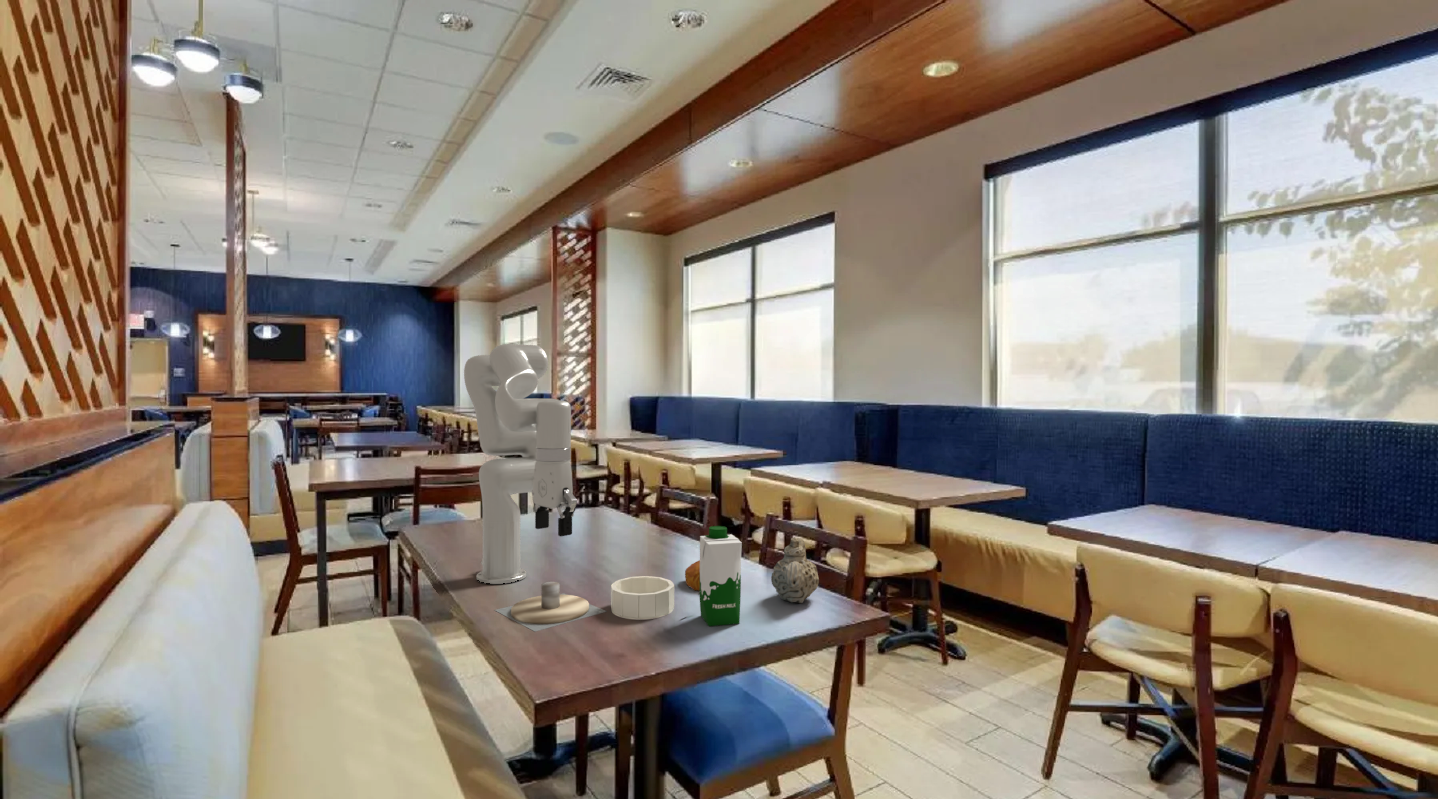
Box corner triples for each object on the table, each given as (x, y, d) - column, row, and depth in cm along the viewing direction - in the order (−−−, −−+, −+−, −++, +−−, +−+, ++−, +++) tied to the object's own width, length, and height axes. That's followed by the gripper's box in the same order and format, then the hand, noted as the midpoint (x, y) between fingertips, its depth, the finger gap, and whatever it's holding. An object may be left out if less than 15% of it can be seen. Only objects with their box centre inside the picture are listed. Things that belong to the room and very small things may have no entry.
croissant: (741, 585, 183) (742, 555, 184) (737, 595, 168) (738, 562, 169) (688, 582, 185) (689, 552, 185) (679, 591, 169) (681, 559, 170)
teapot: (816, 615, 154) (817, 549, 154) (765, 611, 156) (766, 546, 156) (821, 587, 175) (822, 529, 174) (776, 584, 177) (777, 526, 177)
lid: (497, 610, 154) (497, 583, 153) (563, 594, 166) (563, 569, 165) (535, 630, 142) (535, 601, 141) (603, 611, 153) (603, 584, 153)
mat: (494, 612, 154) (494, 610, 154) (563, 595, 166) (563, 593, 166) (534, 634, 141) (535, 631, 141) (606, 613, 153) (606, 611, 153)
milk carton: (733, 611, 156) (733, 524, 155) (744, 625, 147) (745, 533, 147) (695, 614, 154) (696, 526, 153) (705, 628, 145) (706, 535, 144)
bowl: (599, 610, 156) (599, 584, 155) (647, 597, 165) (647, 572, 165) (637, 626, 146) (637, 599, 145) (685, 611, 155) (686, 585, 155)
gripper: (519, 453, 156) (519, 527, 156) (559, 460, 143) (559, 541, 144) (548, 451, 161) (548, 523, 162) (589, 457, 149) (589, 535, 149)
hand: (553, 531), depth 153 cm, fingers open, 9 cm apart
